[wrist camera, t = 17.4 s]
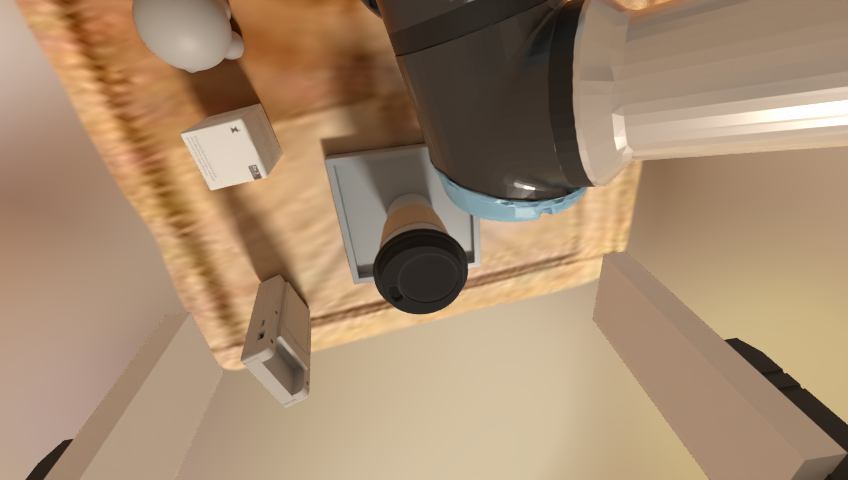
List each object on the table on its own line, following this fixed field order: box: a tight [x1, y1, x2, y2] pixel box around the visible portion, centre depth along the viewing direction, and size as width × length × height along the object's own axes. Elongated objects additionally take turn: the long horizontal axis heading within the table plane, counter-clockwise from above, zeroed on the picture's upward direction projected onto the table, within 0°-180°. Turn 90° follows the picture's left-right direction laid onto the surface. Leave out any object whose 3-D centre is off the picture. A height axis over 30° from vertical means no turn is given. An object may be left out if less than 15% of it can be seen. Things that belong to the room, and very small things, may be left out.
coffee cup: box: [373, 193, 468, 314], centre depth 42 cm, size 9×9×15 cm
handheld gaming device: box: [241, 275, 311, 407], centre depth 47 cm, size 9×15×4 cm
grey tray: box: [325, 143, 481, 284], centre depth 48 cm, size 18×18×2 cm
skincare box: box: [180, 104, 282, 190], centre depth 39 cm, size 6×6×7 cm
